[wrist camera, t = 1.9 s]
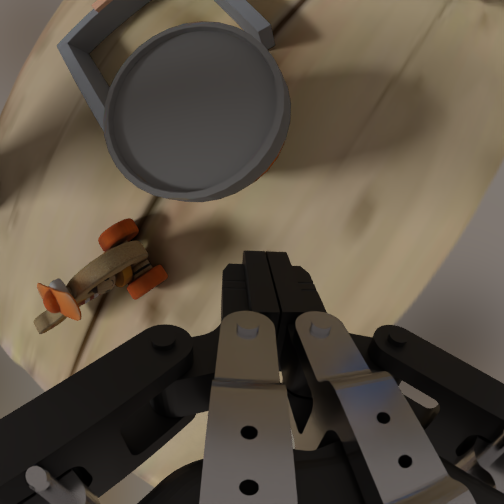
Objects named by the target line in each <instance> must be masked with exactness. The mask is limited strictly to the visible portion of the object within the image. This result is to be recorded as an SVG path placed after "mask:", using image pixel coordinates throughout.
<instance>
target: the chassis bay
mask: <svg viewBox="0 0 504 504" xmlns="http://www.w3.org/2000/svg"><path fill="white" fill-rule="evenodd" d="M150 1H151V0H97V1H96V2H95V3H93V4H92V7H93V8H94V9H93V10H92V11H91V12H89V13H88V14H87V15H86V16H85V17H84V18H83V19H82V20H81V21H80V22H79V23H78V24H77V25H76V26H75V27H74V28H73V29H72V30H71V31H70V32H69V33H68V34H67V35H66V36H65V37H64V38H63V39H62V40H61V41H60V42H59V44H58V45H57V48H58V50H59V52H60V54H61V55H62V57H63V59H64V61H65V63H66V65H67V67H68V69H69V71H70V73H71V74H72V76H73V78H74V80H75V82H76V84H77V86H78V87H79V89H80V91H81V93H82V95H83V96H84V98H85V100H86V102H87V104H88V105H89V107H90V109H91V111H92V112H93V114H94V116H95V118H96V119H97V121H98V123H99V125H100V126H101V128H102V130H103V131H104V124H103V118H104V108H105V102H106V99H107V95H108V92H109V89H110V87H109V86H108V84H107V83H106V81H105V79H104V78H103V76H102V75H101V73H100V71H99V70H98V68H97V66H96V65H95V63H94V62H93V60H92V58H91V57H90V55H89V53H90V52H91V51H92V50H93V49H94V48H95V47H96V46H97V45H98V44H99V43H101V42H102V41H103V40H104V39H105V38H106V37H107V36H108V35H109V34H110V33H111V32H113V31H114V30H115V29H116V28H117V27H118V26H119V25H121V24H122V23H123V22H124V21H125V20H127V19H128V18H129V17H130V16H131V15H133V14H134V13H135V12H136V11H138V10H139V9H140V8H142V7H143V6H144V5H146V4H147V3H148V2H150ZM214 1H215V2H216V3H217V4H218V5H219V6H220V7H221V8H222V9H223V10H224V11H225V12H226V13H227V14H228V15H230V16H231V17H232V18H233V19H234V20H235V22H236V23H237V24H238V25H239V26H240V27H241V28H242V29H243V30H244V31H245V32H247V33H249V34H251V35H252V36H253V37H254V38H256V39H257V40H258V41H259V42H261V43H262V44H263V45H264V46H265V48H266V49H267V50H268V49H269V48H271V47H273V46H274V45H275V42H274V37H273V33H272V28H271V24H270V23H269V22H268V21H267V20H266V19H265V18H264V17H263V16H262V15H261V14H260V13H259V12H258V11H257V10H255V9H254V8H253V7H252V6H251V5H250V4H249V3H248V2H247V1H246V0H214Z"/></svg>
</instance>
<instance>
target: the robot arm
mask: <svg viewBox="0 0 504 504" xmlns="http://www.w3.org/2000/svg"><path fill="white" fill-rule="evenodd" d="M279 371H281V372H282V376H283V379H282V383H280V378H279ZM402 380H403V381H404V382H406V383H408V384H409V385H411V386H413V387H414V388H416V389H418V390H420V391H421V392H423V393H425V394H426V395H428V396H430V397H431V398H433V399H435V400H436V401H437V402H438V403H439V404H438V405H437V406H436V407H435V408H431V409H429V408H425V407H423V406H422V405H420V404H418V403H417V402H415V401H413V400H412V399H410V398H408V397H407V396H405V395H403V393H402V392H401V390H400V388H399V387H398V386H399V384H400V383H401V381H402ZM205 411H209V412H208V421H207V430H206V440H205V449H204V459H201V460H198V461H194V462H192V463H190V464H187V465H185V466H183V467H181V468H179V469H177V470H176V471H174V472H173V473H171V474H170V475H169V476H167V477H166V478H165V479H164V480H162V481H161V482H160V483H159V484H158V485H157V486H156V487H155V488H154V489H153V490H152V491H151V492H150V493H149V494H147V495H146V496H145V497H144V498H143V499H142V500H141V501H140V502H139V503H137V504H504V384H503V383H501V382H500V381H498V380H496V379H494V378H492V377H491V376H489V375H487V374H485V373H483V372H482V371H480V370H478V369H476V368H474V367H472V366H471V365H469V364H467V363H465V362H464V361H462V360H460V359H458V358H457V357H454V356H453V355H451V354H449V353H447V352H446V351H444V350H442V349H440V348H439V347H436V346H435V345H433V344H431V343H430V342H428V341H426V340H424V339H422V338H420V337H419V336H417V335H415V334H413V333H411V332H410V331H408V330H406V329H404V328H402V327H399V326H395V325H384V326H381V327H379V328H378V329H376V331H375V333H374V335H373V338H372V337H366V336H361V335H355V334H351V333H348V331H347V329H346V328H345V326H344V324H343V323H342V322H341V321H340V320H339V319H338V318H336V317H335V316H333V315H331V314H328V313H327V312H326V310H325V308H324V305H323V303H322V301H321V299H320V296H319V294H318V292H317V291H316V288H315V285H314V284H313V281H312V279H311V277H310V274H309V273H308V272H307V271H305V270H304V269H303V268H302V267H301V266H292V265H291V263H290V260H289V258H288V255H287V253H286V252H269V251H266V252H265V251H244V252H243V262H242V264H228V265H227V266H226V268H225V269H224V270H223V276H222V300H221V324H220V325H219V326H218V327H217V328H216V329H215V330H214V331H212V332H210V333H207V334H205V335H201V336H196V337H191V336H190V334H189V333H188V332H187V331H185V330H184V329H182V328H180V327H177V326H173V325H156V326H153V327H150V328H148V329H146V330H144V331H143V332H141V333H139V334H138V335H136V336H135V337H133V338H131V339H130V340H128V341H127V342H125V343H123V344H122V345H120V346H119V347H117V348H115V349H114V350H112V351H111V352H109V353H107V354H106V355H104V356H103V357H101V358H99V359H98V360H96V361H95V362H93V363H91V364H90V365H88V366H86V367H85V368H83V369H82V370H80V371H78V372H77V373H75V374H74V375H72V376H70V377H69V378H67V379H65V380H64V381H62V382H61V383H59V384H57V385H56V386H54V387H52V388H51V389H49V390H48V391H46V392H44V393H43V394H41V395H39V396H38V397H36V398H35V399H33V400H31V401H30V402H28V403H26V404H25V405H23V406H21V407H20V408H18V409H17V410H15V411H13V412H12V413H10V414H8V415H7V416H5V417H3V418H2V419H0V504H101V503H100V501H99V499H98V498H99V497H100V496H101V495H103V494H104V493H105V492H107V491H108V490H109V489H111V488H112V487H113V486H115V485H116V484H117V483H118V482H120V481H121V480H122V479H124V478H125V477H126V476H127V475H128V474H130V473H131V472H132V471H134V470H135V469H136V468H137V467H138V466H140V465H141V464H142V463H143V462H145V461H146V460H147V459H148V458H149V457H151V456H152V455H153V454H154V453H155V452H156V451H158V450H159V449H160V448H161V447H162V446H164V445H165V444H166V443H167V442H168V441H169V440H170V439H172V438H173V437H174V436H175V435H176V434H177V433H178V432H180V431H181V430H182V429H183V428H184V427H185V426H186V425H187V424H188V423H190V422H191V421H192V420H193V419H194V417H195V415H196V414H197V413H201V412H205ZM291 430H292V434H293V437H294V442H295V449H293V447H292V436H291Z"/></svg>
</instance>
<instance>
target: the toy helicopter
mask: <svg viewBox="0 0 504 504" xmlns="http://www.w3.org/2000/svg"><path fill="white" fill-rule="evenodd" d="M138 231H139V230H138V227H137V226H136V224H135V222H134V221H133V220H132V219H129V218H128V219H124V220H122V221H120V222H118V223H116V224H114V225H112V226H111V227H109V228H108V229H107V230H105V231H104V232H103V233H102V234H101V235H100V237H99V239H98V241H99V244H100V246H101V248H102V249H103V251H104V253H103V254H102V255H100V256H99V257H98V258H96V259H95V260H93V261H92V262H90V263H89V264H88V265H86V266H85V267H84V268H83V269H81V270H80V271H79V272H78V273H77V274H76V275H75V276H74V277H73V278H72V279H71V280H70V281H69V283H68V284H67V286H65V284H64V283H63V282H62V280H61V279H59V278H58V279H56V280H54V281H52V282H51V283H50V285H49V287H47V286H45V285H42V284H41V283H38V284H37V289H38V291H39V293H40V295H41V297H42V299H43V303H44V306H45V307H46V309H47V310H46V311H45V312H43V313H42V314H40V315H39V316H38V317H37V318H36V319H35V320H34V325H35V327H36V329H37V331H38V332H39V334H43V333H45V332H47V331H48V330H50V329H52V328H54V327H55V326H57V325H58V324H60V323H61V322H62V321H64V320H65V319H66V317H69V318H71V319H74V320H77V321H78V320H80V319H81V311H80V308H79V307H80V306H81V305H83V304H85V303H87V302H89V301H90V300H92V299H94V298H95V297H97V296H99V295H101V294H104V293H107V292H109V291H110V290H111V289H112V288H113V287H114V285H116V286H117V287H123V286H124V285H126V284H128V287H127V290H128V292H129V293H130V295H131V296H132V298H133V299H138V298H140V297H141V296H143V295H144V294H145V293H147V292H148V291H150V290H151V289H153V288H154V287H156V286H157V285H159V284H160V283H161V282H163V281H164V280H166V279H167V278H168V275H167V273H166V272H165V270H164V269H163V267H162V266H161V265H157V266H155V267H152V266H151V264H150V263H149V261H148V260H147V257H148V253H147V251H146V250H145V248H144V247H143V245H142V244H141V242H139V241H130V240H131V239H133V238H134V237H135V236H136V235H137V234H138ZM129 241H130V242H129Z"/></svg>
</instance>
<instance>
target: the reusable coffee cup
mask: <svg viewBox="0 0 504 504" xmlns="http://www.w3.org/2000/svg"><path fill="white" fill-rule="evenodd" d="M290 113H291V102H290V97H289V91H288V87H287V84H286V82H285V80H284V78H283V75H282V73H281V71H280V69H279V67H278V65H277V63H276V62H275V60H274V58H273V57H272V55H271V54H270V53H269V51H268V50H267V49H266V48H265V46H264V45H263V44H262V43H261V42H259V41H258V40H257V39H256V38H254V37H253V36H252V35H251V34H249V33H247V32H245V31H243V30H241V29H239V28H237V27H234V26H231V25H227V24H223V23H219V22H202V21H201V22H193V23H186V24H182V25H179V26H175V27H172V28H169V29H167V30H165V31H163V32H161V33H159V34H157V35H155V36H153V37H152V38H150V39H149V40H147V41H146V42H145V43H143V44H142V45H141V46H139V47H138V48H137V49H136V50H135V51H134V52H133V53H132V54H131V55H130V56H129V57H128V58H127V60H126V61H125V62H124V64H123V65H122V67H121V68H120V69H119V71H118V72H117V74H116V76H115V78H114V80H113V82H112V84H111V86H110V89H109V92H108V95H107V99H106V102H105V108H104V118H103V124H104V136H105V140H106V144H107V148H108V151H109V153H110V155H111V157H112V159H113V161H114V163H115V165H116V167H117V168H118V169H119V170H120V171H121V173H122V174H123V175H124V176H125V178H127V179H128V180H129V181H130V182H132V183H133V184H134V185H135V186H137V187H138V188H140V189H142V190H144V191H146V192H148V193H150V194H152V195H155V196H159V197H163V198H167V199H172V200H179V201H185V202H206V201H212V200H218V199H221V198H224V197H227V196H229V195H232V194H235V193H237V192H239V191H240V190H242V189H244V188H245V187H247V186H249V185H250V184H252V183H254V182H255V181H257V180H258V179H259V178H260V177H261V176H262V175H263V174H264V173H266V172H267V171H268V170H269V168H270V167H271V166H272V164H273V163H274V162H275V160H276V159H277V158H278V156H279V153H280V151H281V149H282V147H283V145H284V142H285V140H286V136H287V132H288V128H289V124H290Z"/></svg>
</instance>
